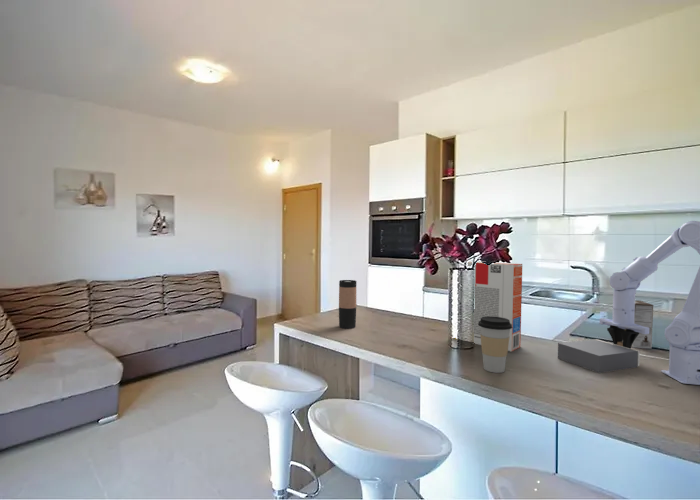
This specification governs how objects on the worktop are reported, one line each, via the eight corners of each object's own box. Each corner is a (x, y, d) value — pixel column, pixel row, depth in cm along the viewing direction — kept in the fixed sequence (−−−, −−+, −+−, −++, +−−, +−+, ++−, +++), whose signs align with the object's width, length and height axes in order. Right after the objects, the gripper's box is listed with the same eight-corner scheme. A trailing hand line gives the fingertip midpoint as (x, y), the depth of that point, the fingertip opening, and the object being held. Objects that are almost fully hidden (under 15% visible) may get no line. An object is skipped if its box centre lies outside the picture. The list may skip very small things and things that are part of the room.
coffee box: (619, 341, 143) (621, 299, 142) (638, 342, 141) (640, 300, 141) (632, 347, 134) (634, 303, 133) (653, 349, 132) (654, 304, 132)
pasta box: (520, 346, 133) (522, 263, 133) (511, 351, 128) (513, 264, 127) (461, 334, 149) (463, 260, 149) (451, 338, 144) (452, 261, 143)
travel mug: (335, 325, 163) (336, 280, 162) (351, 324, 166) (352, 279, 166) (342, 329, 156) (343, 282, 155) (359, 327, 159) (359, 281, 159)
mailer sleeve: (598, 372, 108) (599, 355, 107) (557, 358, 121) (558, 342, 121) (637, 367, 113) (637, 351, 113) (593, 353, 126) (594, 339, 126)
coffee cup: (502, 364, 114) (503, 315, 114) (517, 375, 105) (518, 322, 105) (472, 364, 114) (473, 315, 114) (484, 375, 105) (485, 322, 104)
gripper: (593, 306, 126) (592, 345, 126) (638, 314, 112) (637, 358, 112) (608, 305, 128) (607, 344, 128) (654, 313, 114) (653, 356, 115)
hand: (622, 350), depth 120 cm, fingers closed
